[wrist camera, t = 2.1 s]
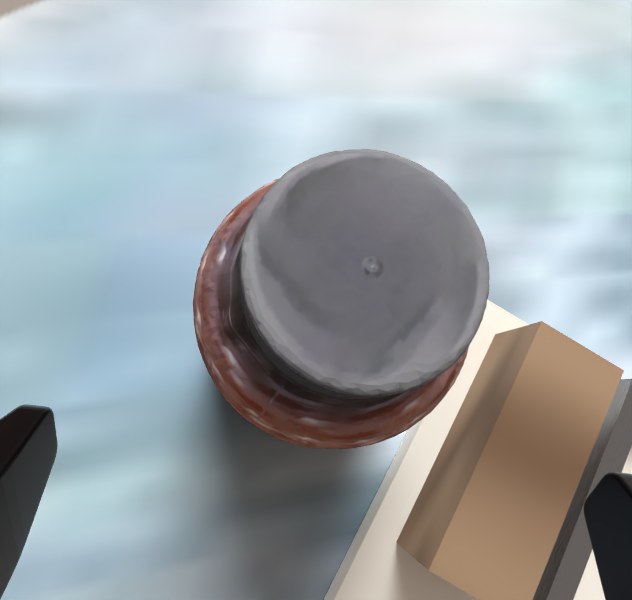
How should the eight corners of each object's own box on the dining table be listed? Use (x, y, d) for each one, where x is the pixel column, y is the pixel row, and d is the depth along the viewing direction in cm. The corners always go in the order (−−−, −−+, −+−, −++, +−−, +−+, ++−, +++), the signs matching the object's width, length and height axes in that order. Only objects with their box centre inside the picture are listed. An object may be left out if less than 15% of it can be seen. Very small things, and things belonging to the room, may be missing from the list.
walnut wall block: (474, 587, 17) (522, 625, 14) (396, 542, 17) (428, 570, 14) (564, 375, 19) (623, 370, 16) (495, 334, 19) (541, 321, 16)
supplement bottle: (400, 311, 20) (603, 192, 9) (337, 460, 18) (484, 543, 7) (258, 241, 19) (282, 29, 8) (182, 387, 18) (94, 362, 7)
